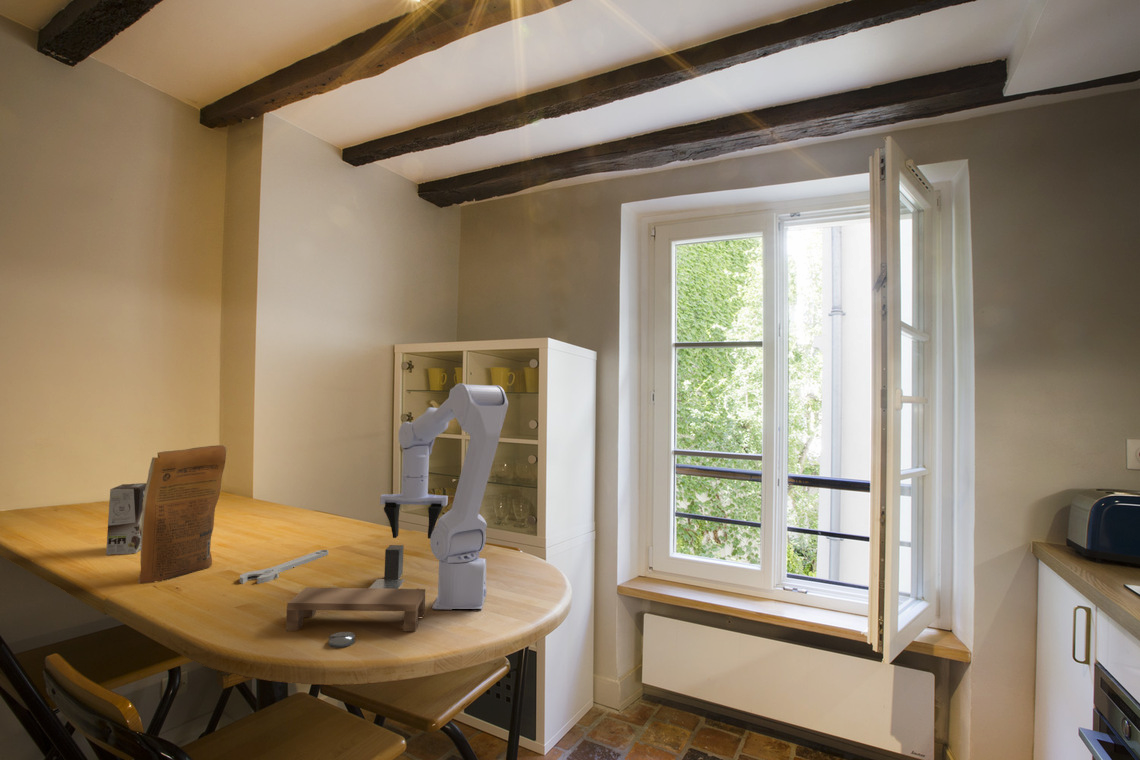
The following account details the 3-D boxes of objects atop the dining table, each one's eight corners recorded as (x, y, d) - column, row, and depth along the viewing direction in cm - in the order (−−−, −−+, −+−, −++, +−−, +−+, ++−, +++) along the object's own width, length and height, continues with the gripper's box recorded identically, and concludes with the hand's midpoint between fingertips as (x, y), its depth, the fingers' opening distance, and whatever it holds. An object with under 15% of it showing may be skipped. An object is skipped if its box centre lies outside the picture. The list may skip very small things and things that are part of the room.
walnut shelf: (424, 614, 107) (425, 589, 107) (415, 631, 99) (416, 604, 99) (305, 612, 106) (306, 587, 106) (285, 630, 98) (287, 602, 98)
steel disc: (355, 638, 96) (355, 631, 96) (353, 647, 92) (354, 639, 93) (329, 640, 95) (330, 632, 95) (327, 649, 91) (327, 641, 91)
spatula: (409, 576, 129) (410, 545, 129) (387, 605, 111) (389, 569, 111) (382, 576, 129) (383, 544, 129) (356, 605, 111) (357, 568, 111)
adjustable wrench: (321, 555, 145) (322, 548, 145) (341, 558, 143) (342, 551, 143) (234, 583, 122) (234, 575, 122) (256, 588, 119) (257, 579, 120)
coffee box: (137, 553, 140) (140, 487, 140) (104, 555, 137) (108, 488, 138) (148, 544, 148) (152, 482, 149) (118, 546, 146) (122, 483, 146)
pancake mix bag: (230, 564, 134) (236, 445, 135) (145, 588, 116) (153, 451, 117) (210, 560, 136) (216, 443, 137) (124, 583, 118) (131, 449, 119)
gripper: (450, 474, 132) (448, 533, 131) (387, 472, 131) (384, 532, 130) (445, 478, 125) (443, 541, 124) (378, 477, 124) (375, 539, 123)
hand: (412, 537), depth 127 cm, fingers open, 7 cm apart
